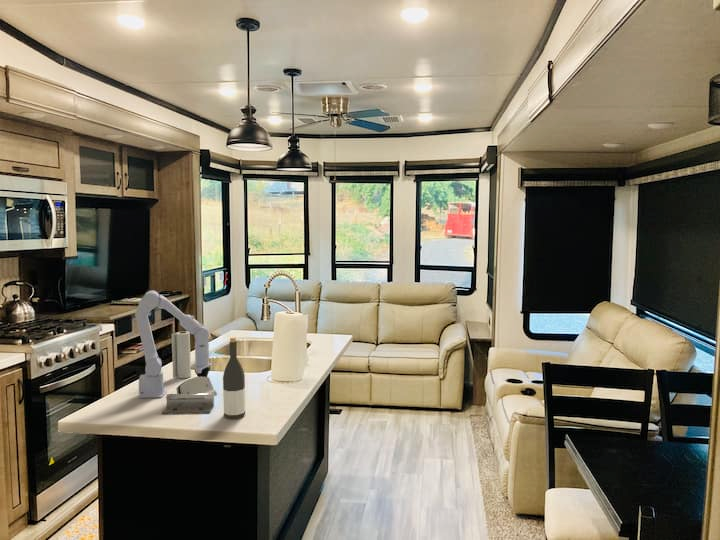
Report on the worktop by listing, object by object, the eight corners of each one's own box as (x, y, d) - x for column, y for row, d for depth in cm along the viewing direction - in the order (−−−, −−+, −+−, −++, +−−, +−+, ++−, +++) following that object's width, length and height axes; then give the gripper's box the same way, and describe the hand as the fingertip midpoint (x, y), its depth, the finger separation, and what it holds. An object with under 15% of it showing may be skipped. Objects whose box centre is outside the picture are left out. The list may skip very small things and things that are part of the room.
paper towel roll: (193, 375, 261) (191, 331, 259) (187, 379, 255) (186, 333, 253) (178, 374, 262) (177, 330, 260) (173, 378, 256) (171, 333, 254)
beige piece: (187, 406, 218) (180, 382, 219) (179, 408, 220) (172, 384, 221) (217, 394, 232) (211, 372, 233) (210, 396, 235) (203, 374, 236)
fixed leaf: (162, 414, 210) (161, 400, 209) (168, 406, 218) (168, 393, 217) (209, 413, 211) (209, 399, 210) (214, 405, 219) (213, 392, 218)
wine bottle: (225, 420, 203) (223, 341, 200) (222, 413, 210) (220, 336, 207) (247, 417, 206) (245, 339, 203) (243, 410, 214) (241, 334, 211)
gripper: (207, 358, 230) (208, 390, 231) (215, 350, 244) (215, 379, 245) (190, 358, 229) (191, 390, 231) (199, 350, 244) (200, 380, 245)
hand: (203, 384), depth 238 cm, fingers closed
